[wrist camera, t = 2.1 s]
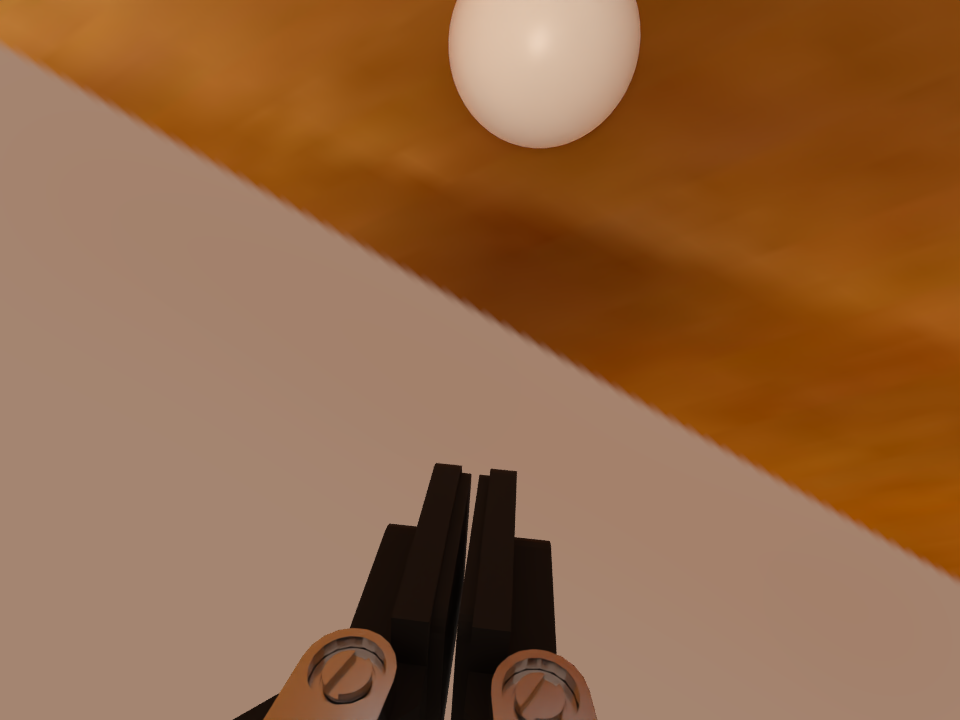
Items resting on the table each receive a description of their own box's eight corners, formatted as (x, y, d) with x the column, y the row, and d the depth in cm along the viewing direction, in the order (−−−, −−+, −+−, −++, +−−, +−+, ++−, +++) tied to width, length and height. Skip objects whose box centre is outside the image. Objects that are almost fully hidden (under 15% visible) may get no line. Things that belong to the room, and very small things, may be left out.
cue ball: (639, -35, 18) (678, -100, 13) (611, 151, 20) (636, 159, 15) (465, -44, 18) (437, -111, 13) (457, 139, 20) (429, 144, 15)
